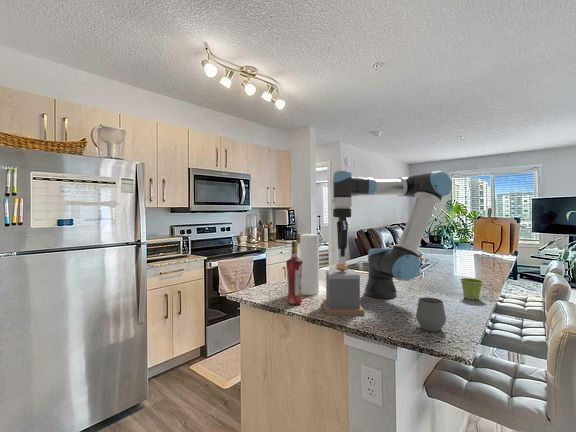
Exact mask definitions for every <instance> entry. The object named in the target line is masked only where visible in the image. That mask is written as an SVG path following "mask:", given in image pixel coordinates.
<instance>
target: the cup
mask: <svg viewBox="0 0 576 432" xmlns="http://www.w3.org/2000/svg"><path fill="white" fill-rule="evenodd" d="M445 311H446V310H445V307H444V301H443V300H441V299H439V298H436V297H429V296H427V297H425V296H424V297H420V298H418V302H417V309H416V315H415V318H416V320H417V323H418V324H419V326H420V328H421V329H422V330H423V331H427V332H437V333H438V332H440V331H441V330H442V329H443V327H444V326H445V324H446V321H447V317H446V312H445Z"/></svg>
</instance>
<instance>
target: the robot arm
mask: <svg viewBox="0 0 576 432" xmlns="http://www.w3.org/2000/svg"><path fill="white" fill-rule="evenodd" d="M352 174H353V173H352V171H350V170H337V171H335V172H334V173H333V180H332V184H333V186H332V187H333V189H332V190H333V193H332V195H333V198H332V200H331V202H332V204H333V209H332V213H333V215H332V217H333V218H338V219H337V220H338V221H337V222H336V231H337V233H336V234H337V249H338V264H347V263H346V259H347V258H346V257H347V256H346V252H347V251H346V249H347V248H348V231H349V222H348V221H347V218H352V209H351V208H352V197H358V196H363V197H364V196H389V195H391V196H392V195H394V196H395V195H396V196H398V197H410V198H415V199H416V200H415V202H414V204H413V207H412V210H411V212H410V214H409V216H408V219H407V222H406V224H405V226H404V229H403V231H402V234H401V236H400V238H399V241H398V243H397V244H394V245H393V246H392V247H385V248H384V247H383V248H370V249H369V250H368V254H367V259H368V262H367V265H368V269H367V270H368V271H367V273H368V274H367V275H368V277H367V282H366V284H365V288H364V294H365V295H366V296H367V297H370V298H376V299H394V298H396V297H397V296H398V293H397V288H396V286H395V282H394V279H396V280H399V281H411V280H413V279H415V277H417V276H418V275H419V272H420V270H421V261H420V259H419V256H420V255H419V253H418V249H419V246H420V244H421V241H422V239H423V236H424V235H425V232H426V229H427V226H428V224H429V222H430V218H431V217H432V214H433V211H434V209H435V206H437V205H439V204H440V203H441V202H442V198H443V197H445V196H449V194H451V192H452V188H453V187H452V186H453V185H452V184H453V183H452V180H451V178H450V176H449V175H448V174H447V173H446V172H445V171H442V170H438V171H437V170H436V171H431V172H424V173H418V174H414V175H410V176H404V177H401V176H400V177H398V178H396V179H375V178H374V177H370V176H354V175H352Z"/></svg>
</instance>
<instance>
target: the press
mask: <svg viewBox="0 0 576 432" xmlns="http://www.w3.org/2000/svg"><path fill="white" fill-rule="evenodd" d="M325 272H326V273H325V274H326V275H325V276H326V279H325V280H326V281H325V283H326V284H325V285H326V291H325V293H326V294H325V295H326V296H325V299H323V298H322V307H323V309H324V311H325V315H326V316H365V309H364V307H363V306H362V305H361V301H360V300H361V295H360V294H361V291H360V290H361V275H360V274H359V272H357V271H356V270H355V269H348V270H344V273H340V270H337V269H326V271H325Z"/></svg>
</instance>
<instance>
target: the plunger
mask: <svg viewBox="0 0 576 432" xmlns="http://www.w3.org/2000/svg"><path fill="white" fill-rule="evenodd" d="M335 266H336V267H335V268H336V269H335V270H340V273H344V270H349V264H348V263H346V264H339V263H336V265H335Z"/></svg>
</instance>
